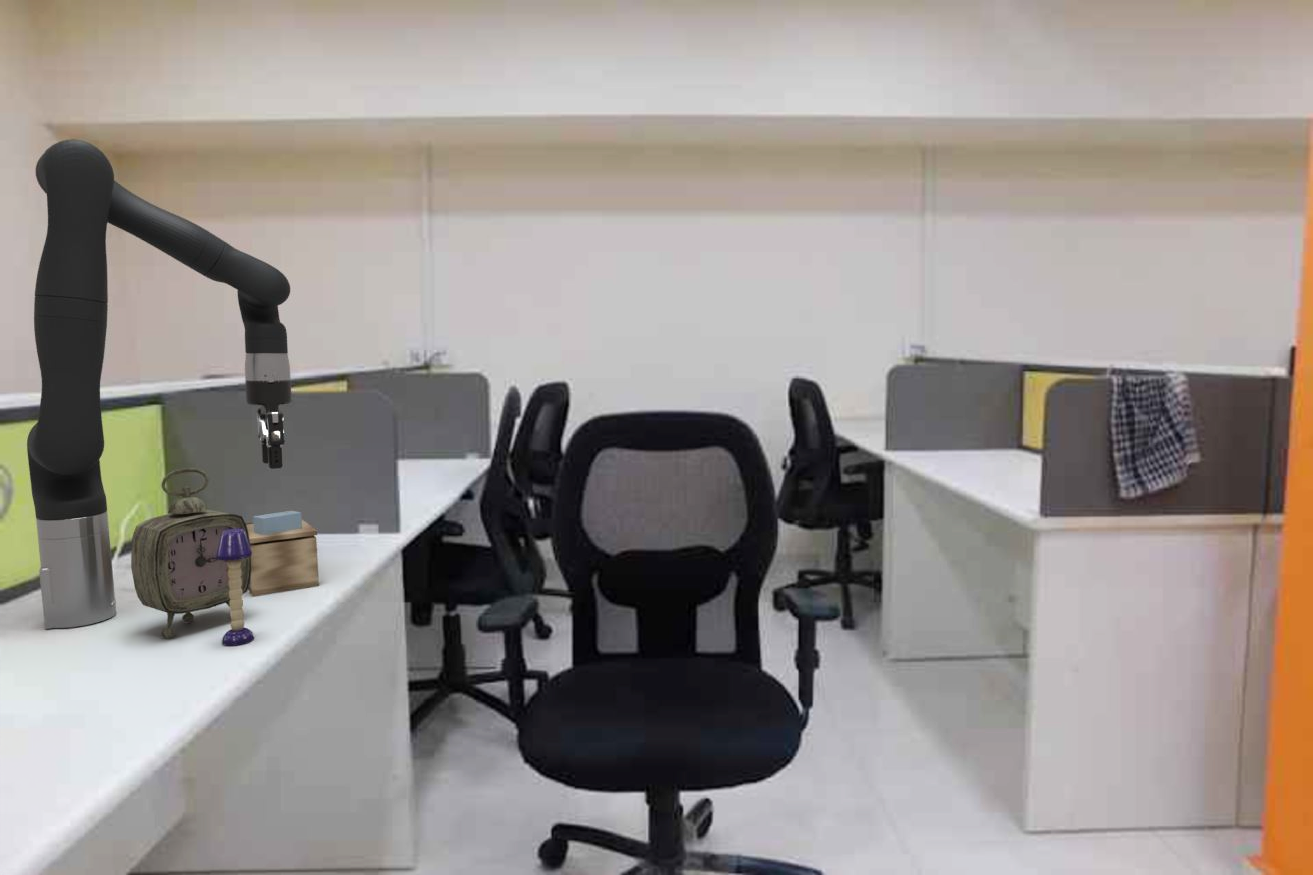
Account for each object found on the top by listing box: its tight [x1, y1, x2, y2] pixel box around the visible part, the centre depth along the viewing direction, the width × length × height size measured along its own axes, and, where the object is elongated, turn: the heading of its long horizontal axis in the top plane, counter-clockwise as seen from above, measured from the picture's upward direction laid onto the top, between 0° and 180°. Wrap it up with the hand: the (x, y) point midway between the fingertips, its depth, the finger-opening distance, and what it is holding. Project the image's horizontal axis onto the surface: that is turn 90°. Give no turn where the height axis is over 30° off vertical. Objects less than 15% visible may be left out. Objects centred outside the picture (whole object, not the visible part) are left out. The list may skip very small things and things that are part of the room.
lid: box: [246, 519, 318, 544], centre depth 148 cm, size 11×16×1 cm
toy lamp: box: [216, 529, 255, 646], centre depth 117 cm, size 5×5×17 cm
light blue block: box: [252, 510, 303, 535], centre depth 146 cm, size 7×4×3 cm, turn 140°
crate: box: [248, 535, 320, 597], centre depth 149 cm, size 11×16×9 cm
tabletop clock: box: [130, 467, 251, 639], centre depth 124 cm, size 14×9×25 cm, turn 147°
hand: (272, 465), depth 148 cm, fingers open, 8 cm apart
